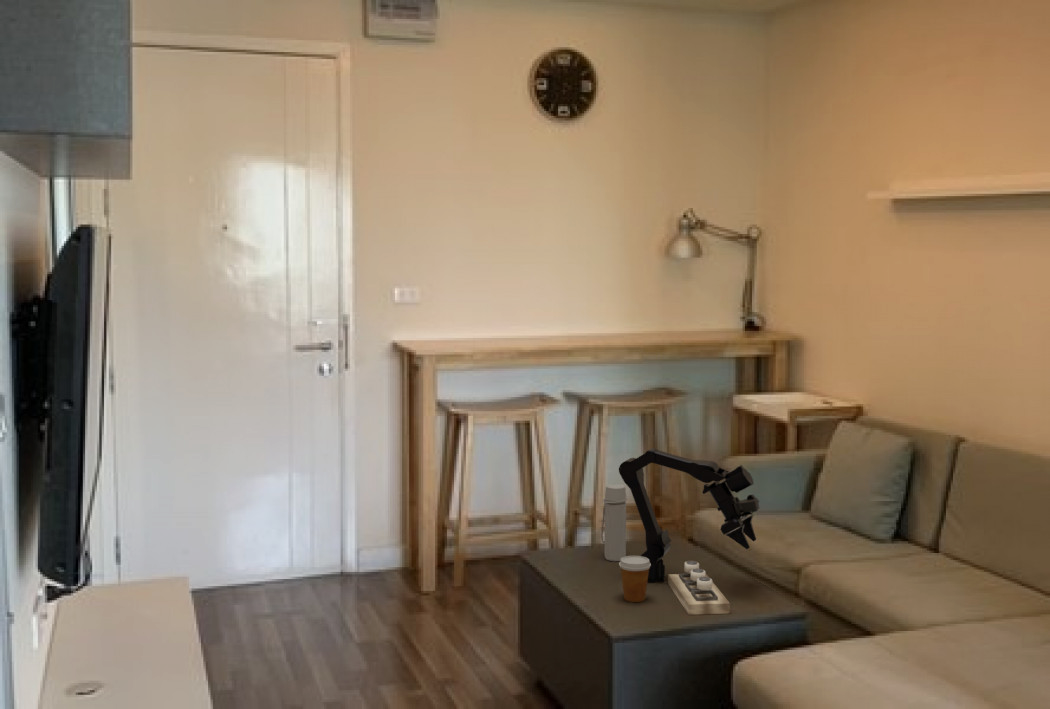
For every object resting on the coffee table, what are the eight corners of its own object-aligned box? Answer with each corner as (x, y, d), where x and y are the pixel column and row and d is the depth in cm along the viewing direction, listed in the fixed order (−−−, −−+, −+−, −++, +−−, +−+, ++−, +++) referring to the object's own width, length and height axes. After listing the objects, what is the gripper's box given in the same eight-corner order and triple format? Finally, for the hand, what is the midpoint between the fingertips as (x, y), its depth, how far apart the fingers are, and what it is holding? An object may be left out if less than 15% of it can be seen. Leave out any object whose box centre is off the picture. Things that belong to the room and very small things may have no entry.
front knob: (698, 590, 311) (698, 581, 310) (695, 585, 315) (695, 576, 315) (713, 590, 311) (713, 580, 311) (709, 585, 315) (710, 575, 315)
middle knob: (692, 581, 319) (692, 572, 318) (688, 577, 323) (689, 568, 323) (706, 581, 319) (707, 572, 319) (703, 576, 323) (703, 567, 323)
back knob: (686, 573, 327) (686, 564, 326) (683, 569, 331) (683, 560, 331) (700, 573, 327) (700, 564, 327) (697, 568, 331) (697, 559, 331)
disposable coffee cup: (629, 606, 315) (630, 566, 314) (612, 596, 323) (612, 557, 322) (656, 600, 319) (657, 561, 318) (639, 591, 328) (639, 553, 326)
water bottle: (630, 558, 362) (631, 485, 359) (617, 563, 356) (618, 490, 353) (607, 553, 368) (608, 482, 365) (595, 558, 362) (595, 486, 359)
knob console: (688, 614, 307) (688, 601, 307) (668, 583, 335) (668, 571, 335) (729, 613, 308) (729, 599, 308) (705, 582, 336) (706, 570, 336)
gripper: (740, 494, 316) (768, 540, 314) (754, 481, 333) (780, 525, 331) (708, 511, 320) (736, 557, 318) (723, 497, 337) (749, 541, 335)
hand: (751, 544), depth 325 cm, fingers open, 9 cm apart
